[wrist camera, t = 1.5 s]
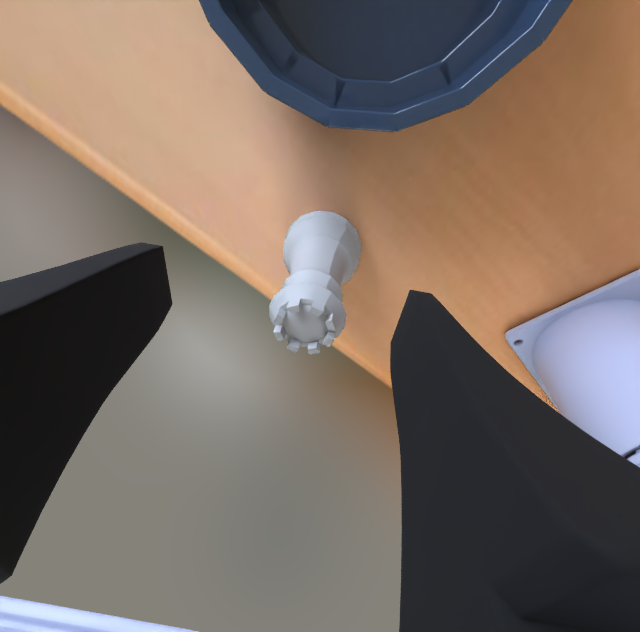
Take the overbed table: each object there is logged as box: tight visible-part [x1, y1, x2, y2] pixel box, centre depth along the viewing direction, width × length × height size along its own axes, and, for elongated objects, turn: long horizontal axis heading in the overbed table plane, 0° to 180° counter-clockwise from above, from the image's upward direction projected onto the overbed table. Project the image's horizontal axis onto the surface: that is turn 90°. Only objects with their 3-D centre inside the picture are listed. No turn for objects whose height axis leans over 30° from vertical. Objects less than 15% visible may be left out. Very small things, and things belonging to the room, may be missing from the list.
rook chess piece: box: [269, 211, 362, 354], centre depth 16 cm, size 4×4×8 cm
